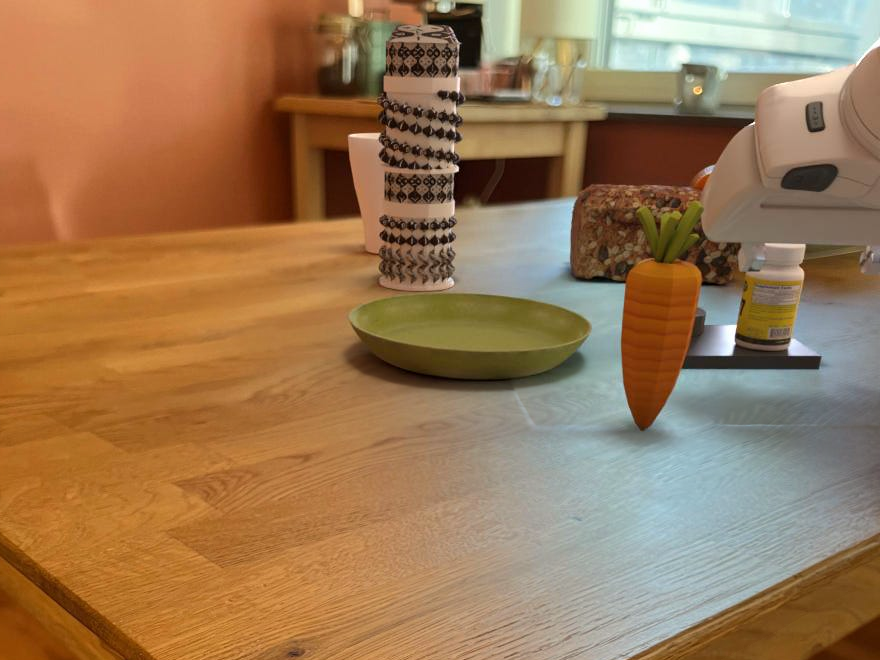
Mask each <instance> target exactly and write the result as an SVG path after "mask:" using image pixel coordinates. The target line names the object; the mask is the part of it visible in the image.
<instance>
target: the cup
mask: <svg viewBox="0 0 880 660" xmlns="http://www.w3.org/2000/svg"><path fill="white" fill-rule="evenodd" d="M381 133H382V132H363V133H351V134H348V135H347V143H348V158H349V163H350V168H351V169H350V170H351V174H352V180H353V186H354V190H355V194H356V197H357V202H358V206H359V210H360V217H361V220H362V227H363V233H364V234H363V235H364V247H365V251H366V252H367V253H369V254H374V255H379V249H380V248H381V247H382V246H383V245H385V241H383V240H382V239H381V238H380V237H379V234H380V232H382V231H383V230H384V229H385V227H384V226H383V225H381V223H380V222H379V218H380V217H381V216H383V215H384V214H383V198H384V179H385V171H382V170H381V169H380V167H381V164H383V163H384V162H383V161H381V159H380V158H379V152H381V150H382V149H383V148H384V146H383V145H382V143H380V142H379V136H380V134H381Z"/></svg>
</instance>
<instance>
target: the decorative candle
mask: <svg viewBox="0 0 880 660" xmlns="http://www.w3.org/2000/svg"><path fill="white" fill-rule="evenodd" d="M460 45H462V43H461V42H460V41H458V38H457V37H456V35H455V31H454V30H453V29H452V27H451V26H449V25H445V24H419V23H418V24H416V23H415V24H414V23H413V24H408V23H407V24H404V23H402V24H398V25H396V26H395V27H394V28H393V30H392V31H391V34H390V36H389V38H388V39H387V40H385V75H383V91H382V93H381V94H379V95H378V97H377V99H376V102H377V104H378V105H379V106H380V107H382V109H383V110H381V111H380V112H379V114H378V115H377V117H376V118H377V120H378V121H379V123H380V124H381V125H382V126H383V127H385V128H384V130H383V131H382V132H380V133H381V134H380V136H379V142H380V143H382V145H383V146H384V148H383V149H382V150H381V152H379V158H380V159H381V161H383V162H384V163H383V164H381V167H380V169H381V170H382V171H385V179H384V198H383V214H384V215H383V216H381V217H380V218H379V222H380V223H381V225H383V226H384V227H385V229H384V230H383V231H382V232H380V234H379V237H380V238H381V239H382V240H383V241H385V245H383V246H382V247H381V248H380V249H379V254H378V256H379V257H380V259H381V262H380V263H379V264H378V270H379V272H380V273H381V274H382V275H383V276H381V277H379V285H380V286H382V287H384V288H386V289H387V288H388V289H391V290H392V289H393V290H398V291H408V292H433V291H441V290H447V289H449V288H451V287H453V286H455V282H454V279H453V278H452V276H453V275H454V272H455V270H456V266H455V265H454V264H453V261H454V260H455V257H456V255H457V252H456V251H455V249H454V248H453V246H452V245H451V243H453V242H454V241H455V240H456V239H457V235H456V234H455V232H453V231H452V228H454V227H455V226H456V225H457V224H458V220H457V218H455V217H454V215H455V208H456V207H455V204H456V201H455V199H454V189H455V188H454V187H455V181H454V178H455V173H457V172H460V171H459V170H460V167H459V166H458V165H457V164H458V163H459V162H461V161H460V160H461V156H460V155H459V154H458V153H457V152H456V151H455V146H457V145H458V143H460V142H462V141H463V135H462V134H461V133H460V132H459V131H458V130H457V129H458V128H459V127H461V126H462V125H463V124H464V118H463V117H462V116H461V115H460V114H459V112H458V111H457V108H458V107H459V108H460V106H461V105H463V104H465V103H466V100H467V99H466V97H465V95H464V94H463V93H462V92H461V89H460V86H461V77H459V66H460V64H459V63H460V56H459V52H460ZM456 112H457V113H456Z"/></svg>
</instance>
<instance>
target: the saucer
mask: <svg viewBox="0 0 880 660" xmlns="http://www.w3.org/2000/svg"><path fill="white" fill-rule="evenodd" d="M347 317H348V318H347V319H348V322H349V324H350V326H351V327H352V329H353V331H354V332H355V335H357V337H358V338H359V340H361V342H362V343H363V344H364V345H365V347H367V348H368V349H369V350H370V352H372V353H373V355H375V356H376V357H378V358H379V359H381V360H382V361H384V362H385V363H387V364H389V365H392V366H394V367H397V368H399V369H402V370H406V371H409V372H413V373H416V374H421V375H426V376H427V375H428V376H431V377H432V376H433V377H441V378H447V379H456V380H457V379H459V380H474V381H475V380H478V381H479V380H480V381H486V380H487V381H488V380H489V381H490V380H492V381H493V380H510V379H518V378H525V377H531V376H536V375H539V374H542V373H545V372H547V371H550V370H553V369H554V368H556V367H558V366H559V365H561V364H563V363H564V362H565V361H566V360H567V359H569V358H570V357H571V356H573V354H574V353H575V352H576V351H577V350H578V349H580V348H581V346H582V345H583V344H584V343H585V341H586V340H587V338H588V337H589V336H590V335H591V332H592V330H593V326H592V324H591V322H590V321H589V320H588V319H587V318H586V317H584V316H583V315H581V314H579V313H578V312H575V311H573V310H571V309H568V308H565V307H563V306H559V305H556V304H552V303H549V302H544V301H540V300H534V299H528V298H523V297H515V296H508V295H498V294H489V293H488V294H487V293H472V292H423V293H411V294H410V293H409V294H401V295H393V296H387V297H380V298H376V299H372V300H369V301H366V302H364V303H361V304H359V305H357V306H355V307H354V308H352V309H351V310H350V311H349V313H348V316H347Z"/></svg>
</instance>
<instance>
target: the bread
mask: <svg viewBox="0 0 880 660" xmlns="http://www.w3.org/2000/svg"><path fill="white" fill-rule="evenodd" d="M702 191H703V190H699V189H695V188H694V189H693V188H690V189H689V188H687V187H682V186H676V185H672V186H669V185H660V184H653V185H652V184H644V185H630V184H628V185H626V184H618V185H617V184H611V183H606V184H604V183H603V184H602V183H592V184H590V185H589V186H587V187H586V188H584V189H583V190H581V191H579V194H578V195H577V198H576V200H575V201H574V203H573V206H572V208H573V209H572V212H571V221H570V237H569V238H570V241H569V244H570V251H569V265H570V269H571V271H572V274H573V276H574V278H577V279H585V280H591V279H592V278H594V277H603V278H606V279H608V280H614V281H621V282H622V281H623V282H626V280H627V276H628V274H629V271H630V270H631V269H632V268H633V267H634V266H636V265H637V264H638V263H639V262H641V261H643V260H645V259H651V258H654V256H653V253H652V250H651V248H650V245H649V242H648V239H647V236H646V234H645V231H644V228H643V225H642V223H641V221H640V219H639V217H638V215H637V213H636V212H637V211H638V210H639V209H640V208H641V207H644V206H647V208H648V209H649V210H650V212H651V214H652V216H653V218H654V221H655V225H656V229H657V233H658V237H659V238H660V230H661V216H662V215H663V214H664V213H666V212H668V213H669V214H670V215H671V214H672V213H673V212H674V211H675V212H679V213H680V214H682V216H681V218H680V220H679V222H678V224H677V225H676V227H675V229H674V230H675V231H676V229H677V227H678V225H679V223H680V221H681V219H682V218H683V216H684V214H685V212H686V211H687V209H688V207H689V206H690V204H691V203H692V201H699V202H701V194H702ZM691 234H698V236H699V239H698V240H697V241H696V242H695V243H694V244H693V245H691V246H690V247H689V248H688V249H687V250H686V251H685V252H684V253H682V254H681V255H680V256H679V257H678V258H677V259H679V260H682V261H686V262H689V263H692V264H693V265H695V266H697V268H698V269H699V270H700V272H701V276H702V283H701V284H717V285H722V284H725V283H729V282H731V281H732V279H734V278H733V277H734V275H735V269H736V267H738V255H739V251H740V249H741V243H736V242H712V241H710V240H709V239H708V238H707V236H706V235H705V233H704V231H703V228H702V222H701V216H700V218H699V220H698V221H697V223H696V224H695V226H694V228H693V229H692V231H691V232H690V234H689V235H691Z"/></svg>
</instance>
